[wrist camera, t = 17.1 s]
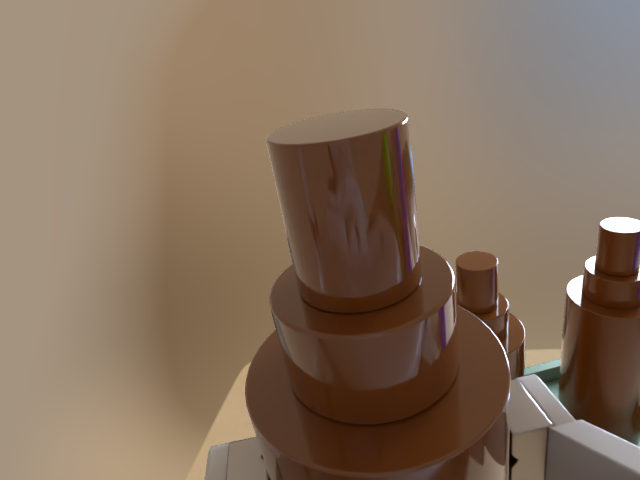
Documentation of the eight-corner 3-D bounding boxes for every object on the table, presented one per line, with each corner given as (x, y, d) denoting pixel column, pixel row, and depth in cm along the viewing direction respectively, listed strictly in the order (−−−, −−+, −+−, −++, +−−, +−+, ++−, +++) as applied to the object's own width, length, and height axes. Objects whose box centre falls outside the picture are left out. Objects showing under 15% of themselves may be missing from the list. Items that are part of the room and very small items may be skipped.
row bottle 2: (590, 464, 32) (616, 253, 24) (541, 407, 36) (551, 219, 29) (659, 443, 32) (705, 231, 25) (602, 390, 37) (627, 200, 30)
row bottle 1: (464, 501, 31) (453, 295, 24) (432, 438, 36) (415, 251, 28) (537, 479, 31) (549, 270, 24) (496, 420, 36) (495, 232, 29)
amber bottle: (353, 804, 12) (137, 216, 5) (318, 580, 17) (187, 130, 10) (546, 737, 12) (612, 113, 5) (456, 538, 17) (427, 82, 10)
